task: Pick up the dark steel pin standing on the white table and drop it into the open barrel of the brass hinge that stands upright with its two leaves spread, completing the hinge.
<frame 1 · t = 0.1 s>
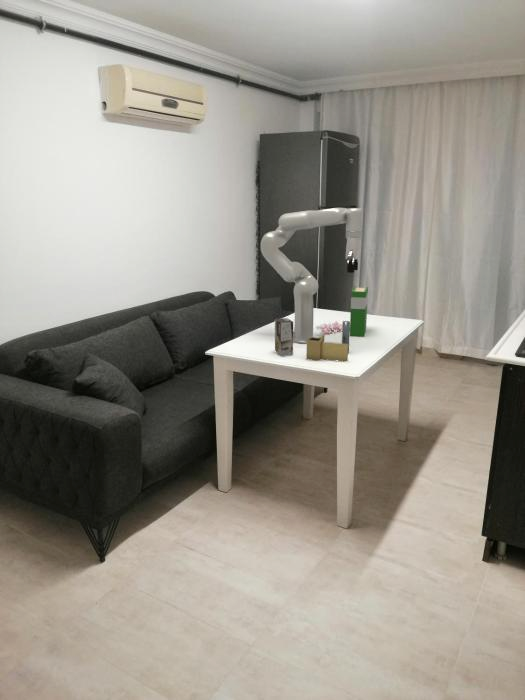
hand: (352, 271, 265), 37 cm above the table, tool pointing down, fingers open, 9 cm apart
hardback book: (358, 333, 298), on the table
pin: (345, 352, 261), on the table
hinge: (314, 358, 252), on the table
coffee box: (283, 353, 260), on the table
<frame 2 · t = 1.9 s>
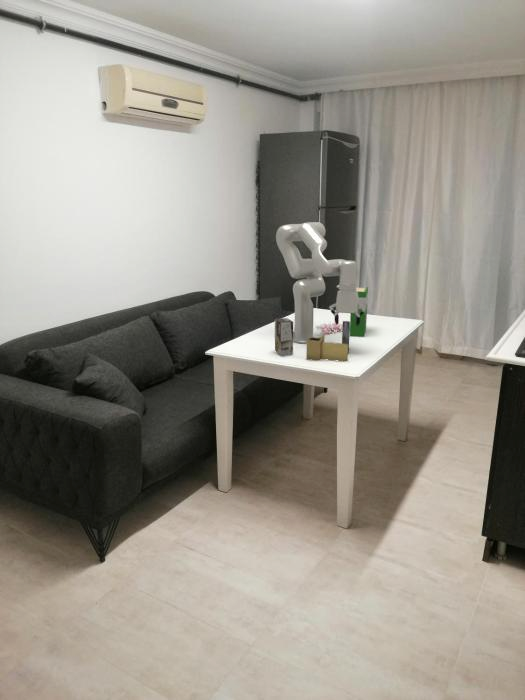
hand: (347, 324, 256), 14 cm above the table, tool pointing down, fingers open, 9 cm apart
nothing on the table moved.
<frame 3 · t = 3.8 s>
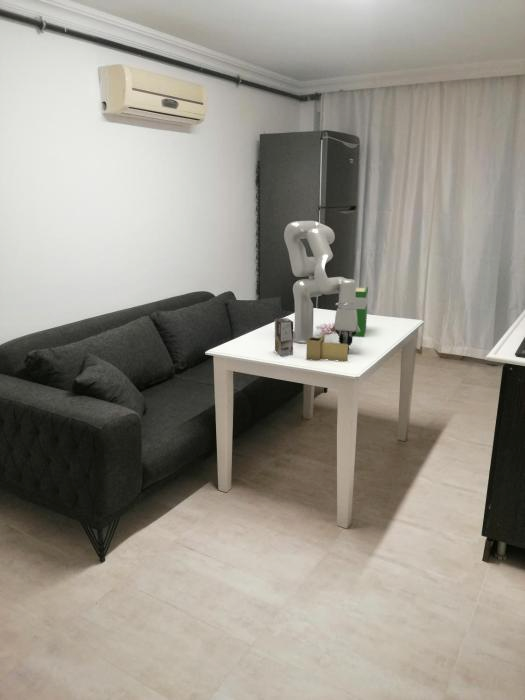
hand: (345, 344, 259), 4 cm above the table, tool pointing down, fingers closed on pin, 3 cm apart
pin: (345, 352, 261), on the table, touching gripper
everything else where it was.
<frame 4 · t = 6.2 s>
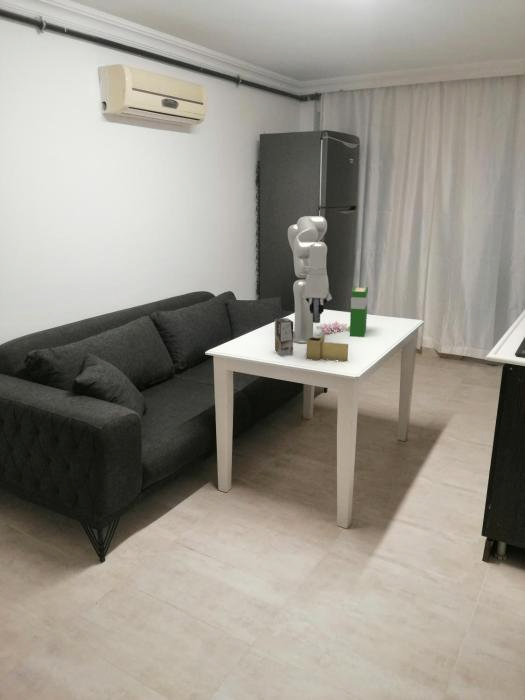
hand: (316, 312, 246), 21 cm above the table, tool pointing down, fingers closed on pin, 3 cm apart
pin: (316, 322, 247), point 17 cm above the table, touching gripper
everything else where it was.
when the fingers open (10 cm above the table, at t = 8.6 s): pin drops 6 cm, resting in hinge.
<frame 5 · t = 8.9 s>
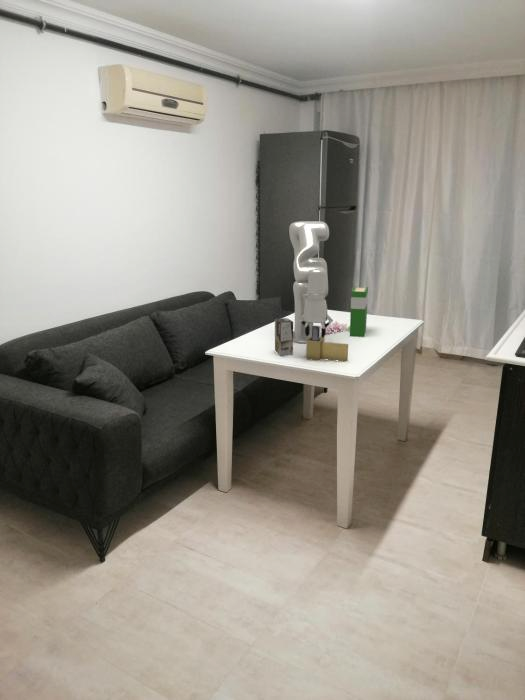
hand: (315, 335, 249), 11 cm above the table, tool pointing down, fingers open, 6 cm apart
pin: (314, 358, 252), resting in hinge
everything else where it was.
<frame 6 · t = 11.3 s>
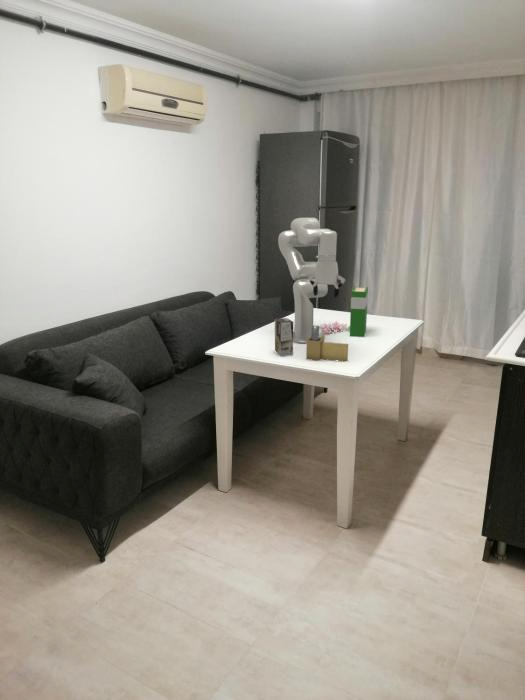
hand: (325, 296, 253), 27 cm above the table, tool pointing down, fingers open, 9 cm apart
nothing on the table moved.
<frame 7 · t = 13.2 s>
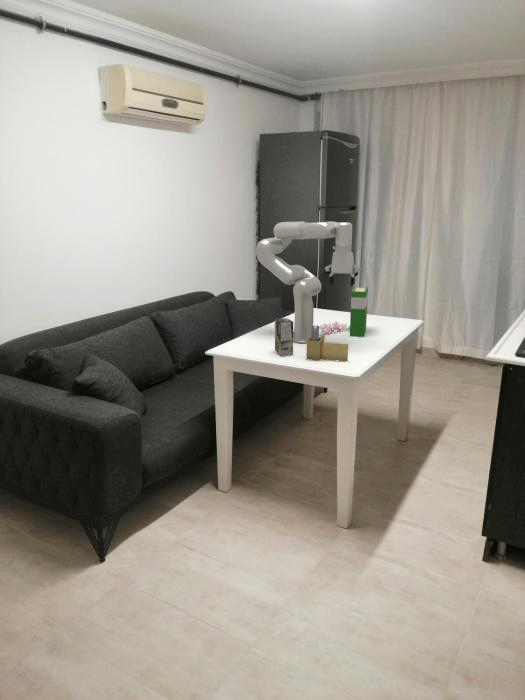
hand: (342, 285, 264), 30 cm above the table, tool pointing down, fingers open, 9 cm apart
nothing on the table moved.
at the end: pin 0.1 cm from the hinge (horizontally); pin resting in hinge; pin tilted 0° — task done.
